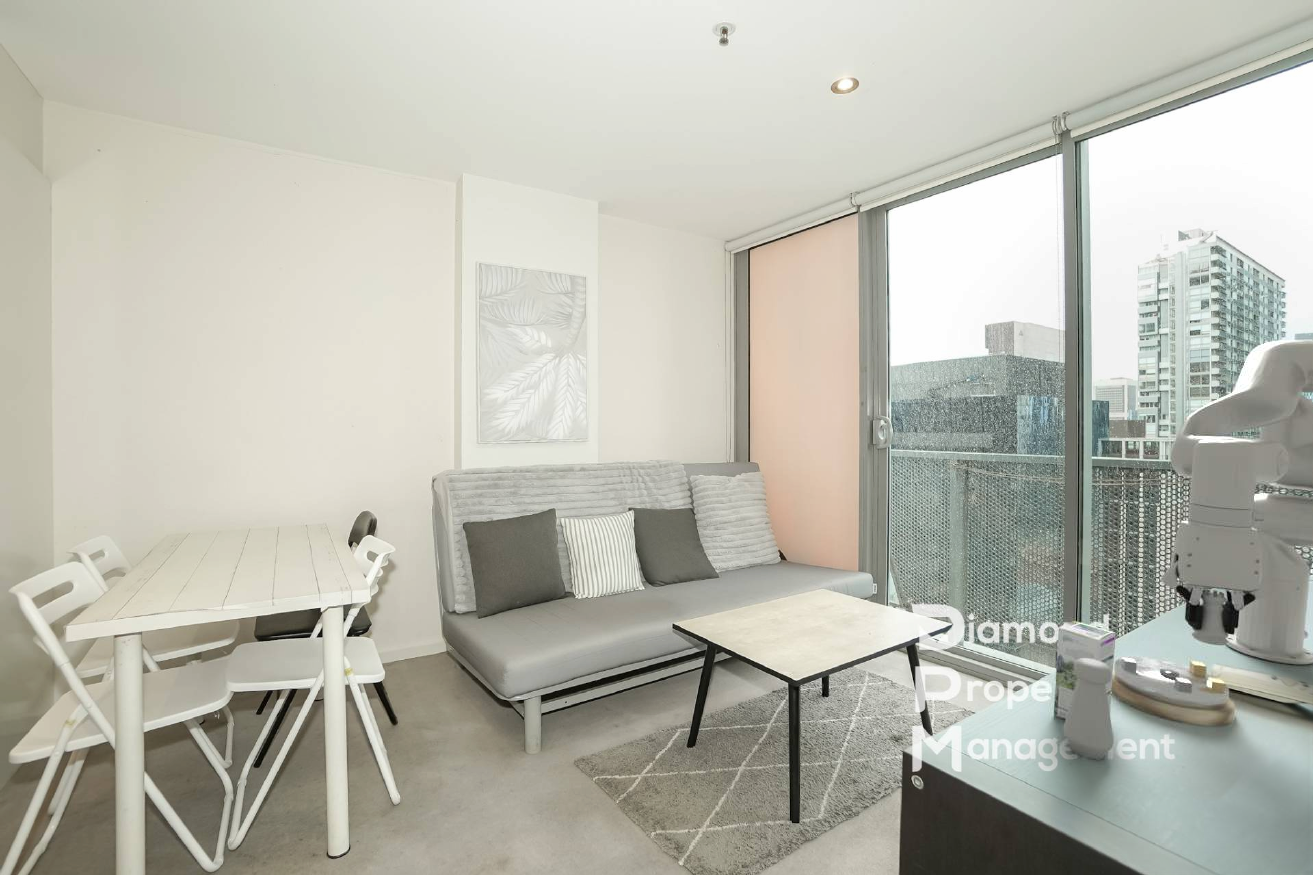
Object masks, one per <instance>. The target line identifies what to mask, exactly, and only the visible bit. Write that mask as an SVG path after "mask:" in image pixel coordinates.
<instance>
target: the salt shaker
mask: <svg viewBox="0 0 1313 875" xmlns="http://www.w3.org/2000/svg"><path fill="white" fill-rule="evenodd" d="M1074 674H1075V675H1076V676H1077V677H1078V679H1077V683H1076V686H1075V689H1074V693H1073V696H1072V700H1071V703H1070V707H1069V710H1068V714H1067V717H1066V720H1064V725H1063V734H1064V737H1065V738H1066V742H1068V745H1069V747H1070V749H1071V751H1072V753H1075V754H1077V755H1079V756H1081V757H1083V758H1085V759H1091V760H1099V761H1101V760H1102V759H1103V758H1104V757H1105V756H1106V755H1107V754H1108V753H1109V752H1110V751H1111V750H1112V748H1113V747H1114V742H1115V740H1114V734H1113V733H1114V732H1113V727H1112V720H1111V711H1110V712H1109V705H1108V698H1107V691H1106V684H1107V683H1109V682H1110V680H1111V669H1110V668H1109V666H1108V665H1106V664H1105V663H1103V662H1101V661H1098V660H1095V659H1089V658H1080V659H1077V660H1076V661H1075V663H1074Z"/></svg>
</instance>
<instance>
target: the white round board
mask: <svg viewBox="0 0 1313 875" xmlns="http://www.w3.org/2000/svg"><path fill="white" fill-rule="evenodd" d="M1113 669H1114V677H1115V678H1116V680H1117V681H1118V682H1119V683H1121V684H1122V685H1123V686H1125V687H1127V688H1128V689H1130V690H1132V691H1134V692H1136V693H1138V694H1141V695H1143V696H1146V697H1148V698H1151V699H1154V700H1157V701H1160V702H1164V703H1168V704H1171V705H1176V706H1180V707H1186V708H1192V709H1201V710H1216V709H1222V708H1224V707H1226V706H1227V705H1228V698H1230V697H1229V696H1230V689H1229V687H1228V685H1227V684H1226V683H1225V682H1224V680H1222V679H1220V678H1218V677H1217V678H1216V677H1215V676H1213V675H1211V674H1209V673H1207V666H1206V664H1204V662H1201V661H1193V660H1190V662H1189V666H1188V665H1184V664H1181V663H1178V662H1177V663H1176V662H1173V661H1169V660H1164V659H1159V658H1154V657H1153V658H1152V657H1145V656H1144V657H1142V656H1126V657H1123V656H1122V657H1121V658H1118V659H1116V660H1114V668H1113Z"/></svg>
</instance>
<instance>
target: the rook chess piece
mask: <svg viewBox="0 0 1313 875" xmlns="http://www.w3.org/2000/svg"><path fill="white" fill-rule="evenodd" d="M1212 591H1213V592H1211V589H1203V590H1202V594H1201V597H1200V599H1201V600H1202V603H1200V605H1201V606H1202V607H1203V615H1202V627H1201V630H1195V629H1194V628H1192V627H1191V629H1192V631H1194V632H1192V633H1191V635H1192V637H1193V639H1194V640H1197V641H1198V642H1201V643H1204V644H1208V645H1213V646H1225V645H1227V644H1226V643H1228V642H1229V641H1228V640H1227V639H1226V638H1227V637H1228V635H1229V634H1228V633H1227V632H1226V631H1225V628H1224V626H1223V620H1222V611H1223V610H1224V608H1223V604H1225V602H1226V601H1227V600H1226V596H1225V593H1224V592H1222V591H1218V590H1216V589H1215V590H1212ZM1218 592H1219V593H1218Z"/></svg>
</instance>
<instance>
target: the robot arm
mask: <svg viewBox="0 0 1313 875" xmlns="http://www.w3.org/2000/svg"><path fill="white" fill-rule="evenodd" d="M1303 393H1313V339H1311V338H1310V339H1292V340H1291V339H1290V340H1289V339H1287V340H1276V341H1270V342H1266V343H1264V344H1261V345H1258V346H1257V347H1254V348H1253V349H1252V351H1250V353H1249V354H1248V356H1246V359H1245V361H1244V364H1243V366H1242V369H1241V371H1240V373H1239V375H1238V378H1237V380H1236V382H1235V385H1234V387H1233V388H1232V391H1231V393H1230V394H1228V395H1225V396H1223V397H1220V398H1218V399H1216V400H1214V401H1212V402H1210V403H1208V404H1206V405H1205V406H1203V407H1202V406H1201V407H1200V408H1199V409H1197V410H1195V411H1194V412H1192V413H1191V414H1190V415H1189V416H1188V417H1187V418H1186V419H1185V420H1184V422H1183V424H1181V425H1182V426H1181V428H1180V430H1179V432H1178V434H1177V436H1176V438H1175V440H1174V442H1173V444H1172V445H1173V446H1172V448H1171V452H1170V465H1171V467H1172V469H1173V470H1174V471H1175V473H1177V474H1178V475H1180V476H1182V477H1185V478H1189V479H1191V480H1190V492H1189V503H1188V504H1189V505H1188V515H1187V516H1188V517H1187V520H1181V521H1180V524H1179V527H1178V529H1177V532H1176V536H1175V539H1174V544H1173V548H1172V553H1171V560H1170V568H1169V569H1168V570H1167V571H1166V572H1165V573H1164V574H1163V575H1162V576H1161V578H1160V582H1162V583H1163V584H1164V585H1166V586H1167V587H1169V588H1171V590H1172V589H1173V590H1174V591H1176V593H1178V594H1179V595H1180V596H1181V597H1182V598H1183V599H1184V600H1185V612H1184V620H1185V621H1186V622H1187V623H1188V625H1189V626H1190V627H1191V629H1192V628H1194V629H1195V630H1201V627H1202V615H1203V607H1202V606H1201V594H1202V593H1203V590H1204V588H1209V589H1217V590H1224V597H1225V598H1226V600H1227V601H1226V602H1224V603H1223V608H1224V610H1223V611H1222V620H1223V626H1224V628H1225V631H1226V632H1227V633H1228V637H1227V638H1226V639H1227V640H1228V641H1229V642H1228V643H1226V644H1225V645H1227V646H1228V647H1229V648H1231V649H1233V650H1236V651H1238V652H1240V653H1241V654H1242V653H1243V654H1245V655H1248V656H1252V657H1256V658H1258V659H1262V660H1267V661H1271V662H1275V663H1282V664H1289V665H1298V666H1299V665H1310V664H1313V653H1312V651H1310V650H1308V649H1306V648H1304V641H1305V639H1307V638H1308V637H1309V633H1308V631H1306V620H1307V610H1308V600H1309V598H1308V597H1309V588H1310V587H1309V586H1310V578H1311V571H1310V567H1309V565H1308V563H1307V561H1306V560H1305V558H1304V557H1303V556H1302V555H1301V554H1300V553H1299V552H1298V550H1296V548H1295V547H1300V548H1301V547H1304V548H1311V549H1313V497H1308V496H1302V495H1301V496H1300V495H1293V494H1292V495H1290V494H1283V493H1282V494H1280V493H1257V494H1256V488H1257V485H1261V486H1265V485H1269V486H1271V487H1277V488H1285V489H1292V490H1293V489H1295V490H1303V491H1304V490H1305V491H1313V401H1312V400H1311V399H1310V398H1309V397H1307V396H1305V394H1303ZM1258 428H1260V429H1259V437H1258V438H1257V437H1238V436H1226V435H1227V434H1233V433H1236V432H1237V433H1238V432H1243V431H1244V432H1245V431H1248V430H1254V429H1258ZM1177 579H1179V581H1181V583H1183V584H1185V586H1183V585H1182V584H1181V583H1179V582H1177Z"/></svg>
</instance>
